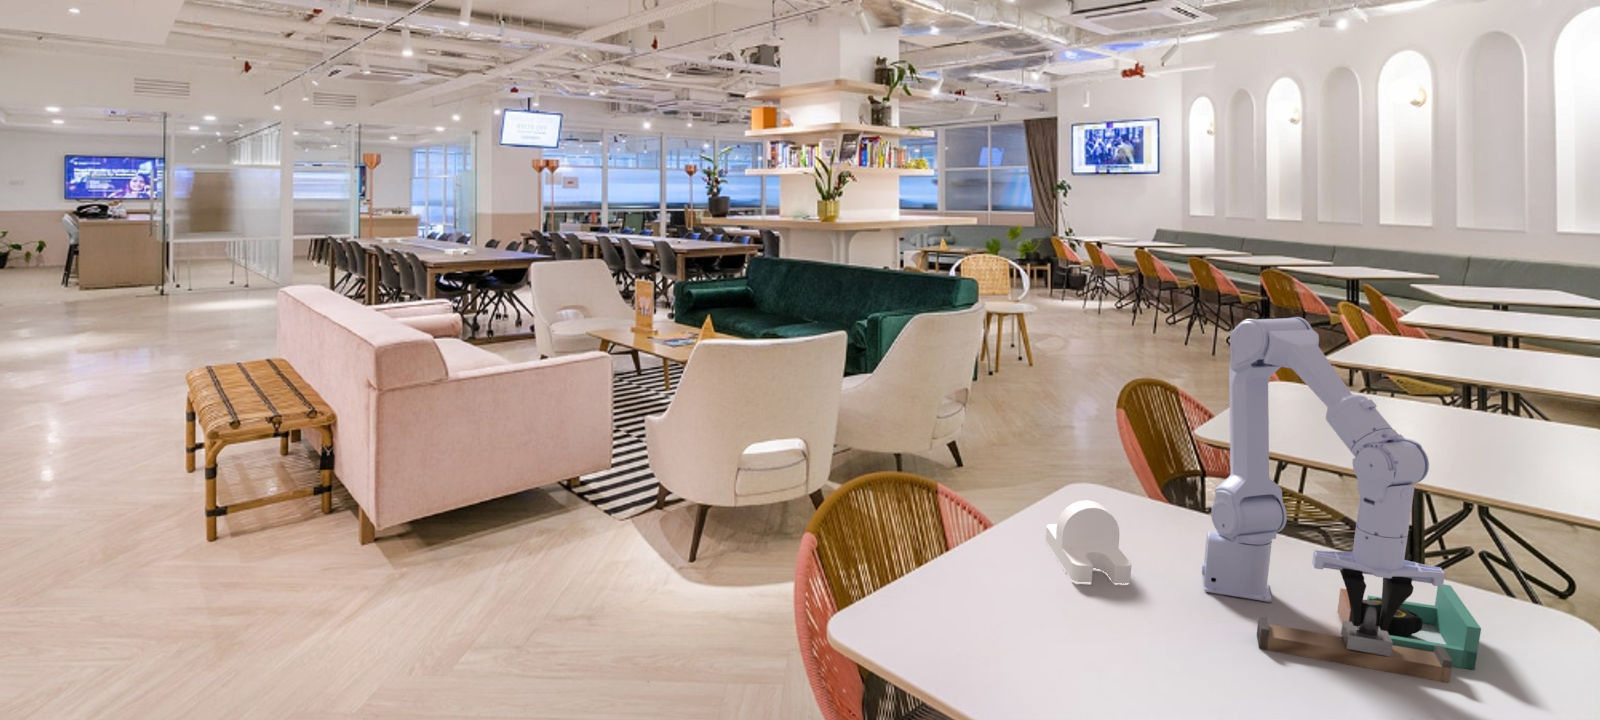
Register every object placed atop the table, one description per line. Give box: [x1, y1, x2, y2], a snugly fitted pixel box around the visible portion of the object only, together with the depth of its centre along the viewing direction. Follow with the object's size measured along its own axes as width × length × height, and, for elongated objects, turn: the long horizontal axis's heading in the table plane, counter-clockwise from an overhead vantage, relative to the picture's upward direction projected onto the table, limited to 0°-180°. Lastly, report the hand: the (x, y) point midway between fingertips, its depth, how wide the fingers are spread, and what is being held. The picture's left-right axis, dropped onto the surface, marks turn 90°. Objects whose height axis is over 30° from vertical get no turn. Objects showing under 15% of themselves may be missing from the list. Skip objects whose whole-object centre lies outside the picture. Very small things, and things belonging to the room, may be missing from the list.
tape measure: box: [1372, 598, 1424, 638], centre depth 125 cm, size 7×7×4 cm
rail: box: [1256, 615, 1453, 683], centre depth 118 cm, size 22×4×3 cm, turn 67°
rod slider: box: [1336, 588, 1393, 656], centre depth 122 cm, size 5×16×8 cm, turn 157°
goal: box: [1366, 583, 1482, 671], centre depth 123 cm, size 10×14×6 cm
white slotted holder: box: [1045, 499, 1133, 584], centre depth 149 cm, size 10×18×11 cm, turn 179°
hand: (1368, 625), depth 117 cm, fingers open, 2 cm apart
